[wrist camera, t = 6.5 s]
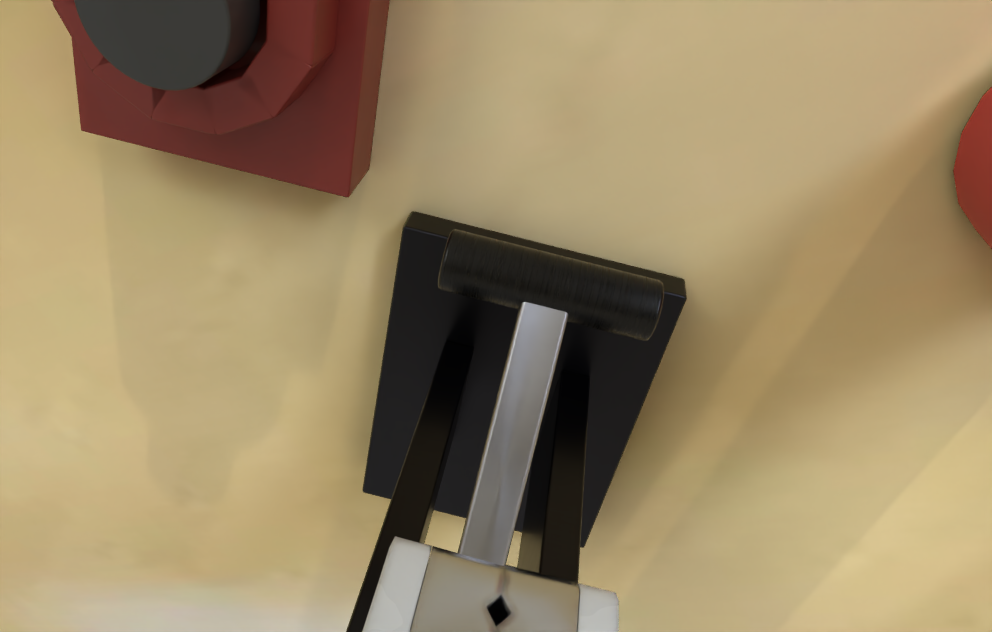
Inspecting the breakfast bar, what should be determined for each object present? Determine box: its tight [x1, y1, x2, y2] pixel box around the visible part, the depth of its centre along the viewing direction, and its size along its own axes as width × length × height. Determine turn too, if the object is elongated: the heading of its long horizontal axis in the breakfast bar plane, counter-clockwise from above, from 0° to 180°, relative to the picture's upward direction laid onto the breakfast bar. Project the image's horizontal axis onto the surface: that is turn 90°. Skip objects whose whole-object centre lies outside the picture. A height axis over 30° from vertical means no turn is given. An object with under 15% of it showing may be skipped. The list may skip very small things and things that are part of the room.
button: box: [74, 0, 260, 91], centre depth 18 cm, size 4×4×2 cm
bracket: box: [346, 211, 687, 632], centre depth 22 cm, size 12×9×14 cm
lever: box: [438, 229, 664, 566], centre depth 18 cm, size 12×5×2 cm
